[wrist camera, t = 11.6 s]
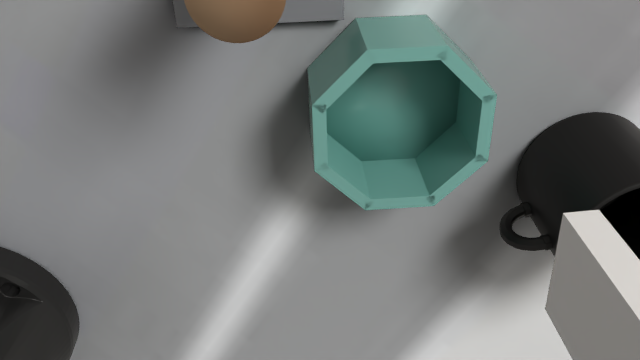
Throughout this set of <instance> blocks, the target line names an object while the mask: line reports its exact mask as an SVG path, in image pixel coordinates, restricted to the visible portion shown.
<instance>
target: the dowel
mask: <svg viewBox="0 0 640 360" xmlns="http://www.w3.org/2000/svg"><path fill="white" fill-rule="evenodd" d="M184 2H185V5H186V8H187V10H188V12H189V14H190V16H191V18H192V19H193V21H194V22H195V23H196V24H197V25H198V26H199V27H200V28H201V29H202V30H203V31H204V32H206V33H207V34H208V35H210V36H212V37H214V38H216V39H218V40H221V41H225V42H230V43H245V42H250V41H253V40H256V39H258V38H260V37H262V36H264V35H265V34H267V33H268V32H269V31H270V30H271V29H273V28H274V26H275V25H276V24H277V23H278V21H279V19H280V18H281V16H282V13H283V11H284V8H285V4H286V0H184Z"/></svg>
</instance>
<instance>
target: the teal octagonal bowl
mask: <svg viewBox="0 0 640 360" xmlns="http://www.w3.org/2000/svg"><path fill="white" fill-rule="evenodd" d="M307 71H308V95H309V118H310V134H311V143H312V152H313V161H314V171H315V172H316V173H318V174H319V175H320V176H321V177H323V178H324V179H325V180H327V181H328V182H329V183H331V184H332V185H333V186H334V187H336V188H337V189H338V190H340V191H341V192H342V193H344V194H345V195H346V196H347V197H349V198H350V199H351V200H353V201H354V202H355V203H357V204H358V205H359V206H360V207H362V208H363V209H364V210H376V209H392V208H408V207H425V206H434V205H436V204H437V203H438V202H439V201H440V200H442V199H443V198H444V197H445V196H446V195H448V194H449V193H450V192H451V191H452V190H454V189H455V188H456V187H457V186H458V185H460V184H461V183H462V182H463V181H464V180H466V179H467V178H468V177H469V176H470V175H472V174H473V173H474V172H475V171H477V170H478V169H479V168H480V167H481V166H483V165H484V164H485V163H486V162H487V161H488V156H489V149H490V142H491V134H492V127H493V120H494V113H495V105H496V98H497V94H496V93H495V92H494V90H493V89H492V88H491V86H490V85H489V84H488V82H487V81H486V80H485V78H484V77H483V76H482V74H481V73H480V72H479V70H478V69H477V68H476V66H475V65H474V64H473V62H472V61H471V60H470V59H469V58H468V57H467V56H466V55H465V54H464V53H463V52H462V50H461V49H460V48H459V47H458V46H457V45H456V44H455V43H454V42H453V41H452V40H451V39H450V38H449V37H448V36H447V35H446V34H445V33H444V32H443V31H442V30H441V29H440V28H439V27H438V26H437V25H436V24H435V23H434V22H433V21H432V20H431V19H430V18H429V17H428V16H427V15H410V16H390V17H370V18H355V19H354V20H353V21H352V23H351V24H350V25H349V26H348V27H347V28H346V29H345V30H344V31H343V32H342V33H341V34H340V35H339V36H338V37H337V38H336V39H335V40H334V41H333V42H332V43H331V44H330V45H329V46H328V47H327V48H326V49H325V51H324V52H323V53H322V54H321V55H320V56H319V57H318V58H317V59H316V60H315V61H314V62H313V63H312V64H311V65H310V66H309V67H308V68H307Z"/></svg>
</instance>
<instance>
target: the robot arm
mask: <svg viewBox="0 0 640 360" xmlns="http://www.w3.org/2000/svg"><path fill="white" fill-rule="evenodd" d="M545 310H546V311H547V313H548V315H549V317H550V319H551V321H552V322H553V324H554V326H555V328H556V330H557V332H558V333H559V335H560V337H561V339H562V341H563V343H564V344H565V346H566V348H567V350H568V352H569V354H570V355H571V357H572V359H573V360H640V260H639V259H638V257H637V256H636V255H635V254H634V253H633V251H632V250H631V249H630V248H629V246H628V245H627V244H626V243H625V241H624V240H623V239H622V238H621V236H620V235H619V234H618V233H617V231H616V230H615V229H614V228H613V226H612V225H611V224H610V223H609V222H608V220H607V219H606V218H605V217H604V215H603V214H602V213H601V212H600V210H590V211H579V212H569V213H563V216H562V222H561V227H560V232H559V238H558V243H557V248H556V254H555V259H554V264H553V270H552V275H551V280H550V286H549V291H548V297H547V302H546V307H545ZM78 333H79V317H78V312H77V309H76V306H75V304H74V302H73V300H72V298H71V296H70V295H69V293H68V292H67V290H66V289H65V288H64V287H63V285H62V284H61V283H60V282H59V281H58V280H57V279H56V278H55V277H54V276H53V275H52V274H51V273H49V272H48V271H47V270H46V269H44V268H43V267H41V266H40V265H38V264H37V263H35V262H33V261H32V260H30V259H28V258H26V257H24V256H22V255H20V254H18V253H15V252H13V251H11V250H8V249H5V248H2V247H0V360H70V357H71V354H72V352H73V349H74V346H75V343H76V341H77V337H78Z"/></svg>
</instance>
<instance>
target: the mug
mask: <svg viewBox="0 0 640 360" xmlns="http://www.w3.org/2000/svg"><path fill="white" fill-rule="evenodd" d="M517 191H518V195H519V198H520V200H521V202H522V203H521V205H519V206H517V207H515V208H513V209H511V210H509V211H508V212H507V213H506V214H505V215H504V216H503V217H502V219H501V222H500V234H501V237H502V238H503V239H504V241H505V242H506V243H507V244H509V245H511V246H513V247H515V248H517V249H521V250H528V251H536V250H544V249H545V250H549V249H550V250H551V251H552V253H553V255H554V256H555V254H556V248H557V243H558V238H559V232H560V227H561V222H562V216H563V213H569V212H579V211H590V210H600V212H601V213H602V214H603V215H604V217H605V218H606V219H607V220H608V222H609V223H610V224H611V225H612V226H613V228H614V229H615V230H616V231H617V233H618V234H619V235H620V236H621V238H622V239H623V240H624V241H625V243H626V244H627V245H628V246H629V248H630V249H631V250H632V251H633V253H634V254H635V255H636V256H637V257H638V259H639V260H640V129H639V128H638V127H637V126H635V125H634V124H633V123H632V122H630V121H629V120H627V119H625V118H623V117H621V116H618V115H615V114H610V113H601V112H592V113H583V114H579V115H575V116H572V117H569V118H566V119H564V120H562V121H560V122H558V123H556V124H554V125H553V126H551V127H550V128H548V129H547V130H545V131H544V132H543V133H542V134H541V135H540V136H538V137H537V138H536V139H535V141H534V142H533V143H532V144H531V145H530V147H529V148H528V150H527V151H526V152H525V154H524V156H523V158H522V160H521V163H520V166H519V169H518V175H517ZM524 216H525V217H531V219H532V220H533V222H534V223H535V225H536V227H537V228H538V230H539V232H540V233H541V236H540V237H537V238H526V237H522V236H519V235H518V234H516V233H515V232H514V231H513V230H512V224H513V223H514V222H515V221H516V220H518V219H520V218H522V217H524Z"/></svg>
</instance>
